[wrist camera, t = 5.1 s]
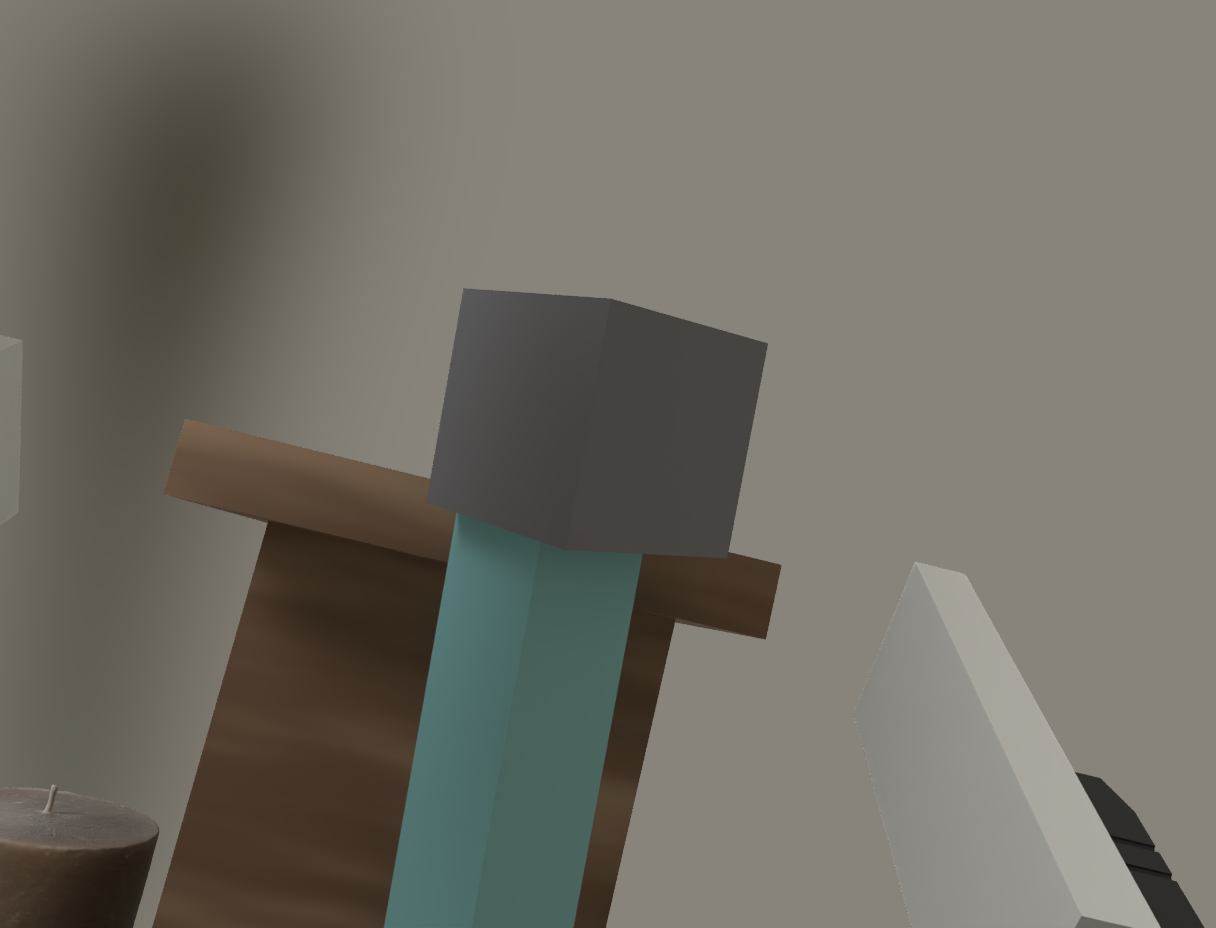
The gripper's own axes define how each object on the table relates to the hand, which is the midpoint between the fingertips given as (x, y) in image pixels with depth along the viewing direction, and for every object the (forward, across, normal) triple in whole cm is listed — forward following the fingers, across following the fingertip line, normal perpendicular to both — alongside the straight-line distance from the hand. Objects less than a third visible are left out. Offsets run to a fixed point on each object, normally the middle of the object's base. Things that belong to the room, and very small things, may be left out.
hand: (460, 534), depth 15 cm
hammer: (+8, +1, -10) cm, 13 cm away
